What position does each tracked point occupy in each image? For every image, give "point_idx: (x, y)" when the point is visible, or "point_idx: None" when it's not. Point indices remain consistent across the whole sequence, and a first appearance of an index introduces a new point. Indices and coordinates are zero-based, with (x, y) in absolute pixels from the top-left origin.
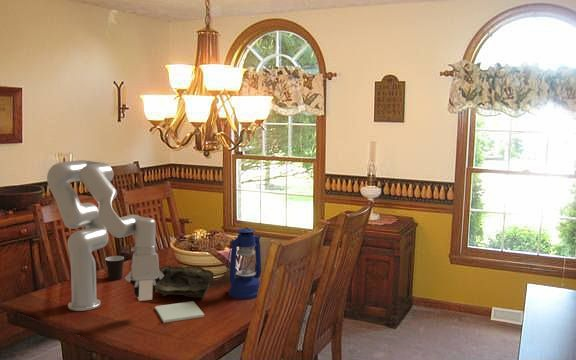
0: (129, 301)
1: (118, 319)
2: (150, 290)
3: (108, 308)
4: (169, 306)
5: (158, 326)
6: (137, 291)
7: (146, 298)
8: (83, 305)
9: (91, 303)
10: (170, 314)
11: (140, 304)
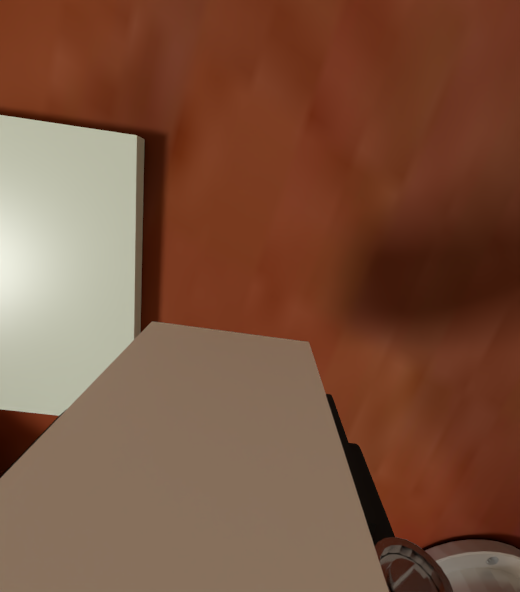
0: None
1: (394, 356)
2: (124, 393)
3: None
4: (40, 380)
5: (200, 83)
6: (345, 451)
7: (219, 338)
8: (503, 580)
9: (461, 585)
10: (59, 230)
11: None
